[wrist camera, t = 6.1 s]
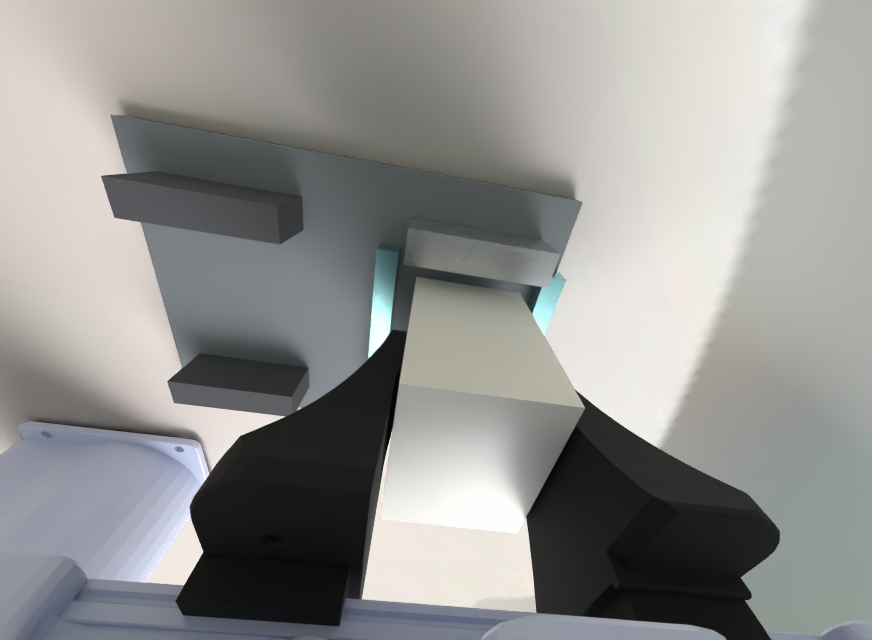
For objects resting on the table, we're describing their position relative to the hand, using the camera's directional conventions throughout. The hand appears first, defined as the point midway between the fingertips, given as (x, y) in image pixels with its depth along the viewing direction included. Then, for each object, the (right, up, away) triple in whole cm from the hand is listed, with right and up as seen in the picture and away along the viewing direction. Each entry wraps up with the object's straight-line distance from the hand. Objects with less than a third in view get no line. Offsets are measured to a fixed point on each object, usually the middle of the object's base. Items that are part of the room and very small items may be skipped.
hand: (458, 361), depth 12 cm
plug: (0, +1, +1) cm, 1 cm away
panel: (-4, +2, +2) cm, 5 cm away
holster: (-9, +3, +1) cm, 9 cm away
